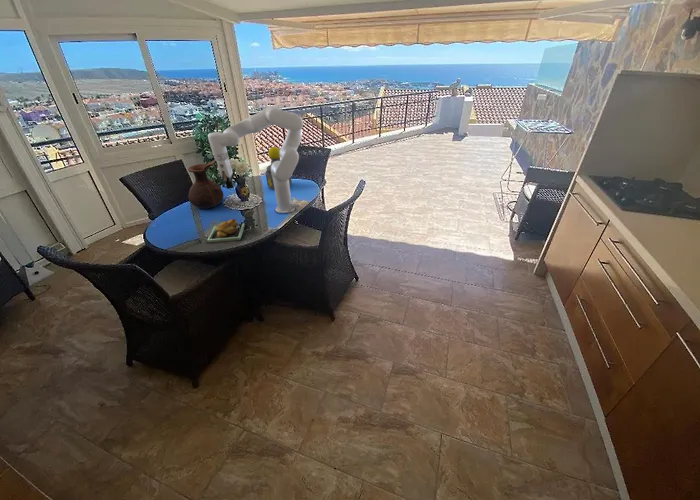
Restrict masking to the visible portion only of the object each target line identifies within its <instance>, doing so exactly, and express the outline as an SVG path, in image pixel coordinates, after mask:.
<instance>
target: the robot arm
mask: <svg viewBox="0 0 700 500" xmlns="http://www.w3.org/2000/svg"><path fill="white" fill-rule="evenodd" d="M270 126H275V127H276V126H277V127H279V128H282V129H286V130H287V132H286V133H287V134H286V135H285V139H284V140H283V143H282V145H281V146H280V148H279V149H280V151H279V155H280V160H281V161H275V162H273V163H272V165H271V164H270V165H271V174H272V178H273V183H274V188H275V190H274V194H275V200H276V207H275V212H276V213H278V214H289V213H292V212H294V211H295V210H296V208H299V207H300V204H299V203H298V202H294V201H293V199H292V195H291V186H290V185H289V178H290V177H291V178H292V175H293V173H294V171H295V170H296V167H297V166H298V163H299V159H300V155H299V153H298V148H299V147H300V143H301V141H302V137H303V129H302V128H303V127H304V120H303V117H301V116H300V115H299V114H296V113H295V112H293V111H286V110H284V109H280V108H278V107H276V106H274V105H270V106H266V107H265V108H264V109H262V110H260V111H258V112H256V113H255V114H253V115H251V116H248V117H247V118H245V119H243V120H240V121H238V122H236V123H234V124H232V125H231V126H229V127H227V128H225V129H224V130H223V131H222V132H220V131H214V132H210V133H207V139H208V142H209V145H210V146H209V147H210V149H211V152H212V155H213V158H214V161H215V162H216V164H217V168H218V172H219V175H220V177H221V179H223V180H224V183H225V186H226V189H233V188H234V184H233V180H232V176H233V173H234V172H233V168H232V165H231V162H230V156H229V152H228V150H227V149H228V148H227V147H236V146H237V145H238V144H239V142H240V139H241V138H243V137H244V136H247V135H250V134H257V133H260V132H261V131H264V130H265V129H267V128H268V127H270Z"/></svg>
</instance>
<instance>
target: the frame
mask: <svg viewBox="0 0 700 500" xmlns="http://www.w3.org/2000/svg"><path fill="white" fill-rule="evenodd" d="M217 226H218V225H213V227H212V229H211V231H210V233H209V235H208V238H207V239H206V243H207V244H209V243H220V242H231V241H240V240H241V238H242V236H243V233H244V229H245V227H246V224H245V222H243V223H242V224H241V227H240V230H239V232H238V236H232V237H231V236H230V237H225V238H219V237H218V238H213V237H214V235H215V233H216V232H217V230H216V228H217Z"/></svg>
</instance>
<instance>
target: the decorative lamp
mask: <svg viewBox="0 0 700 500" xmlns="http://www.w3.org/2000/svg"><path fill="white" fill-rule="evenodd" d="M280 149H281V148H279V147H277V146H271V147H270V148H269V150H268V157H269V158H270V164H269V165H267V166H266V171H265V179H266V185H267V187H268V188H269V189H270V190H272V191H275V188H274V183H273V178H272V174H271V165H272V163H273V162H275V161H281V157H280V155H279V151H280ZM289 185H290V187H292V176H291V177H290V178H289Z"/></svg>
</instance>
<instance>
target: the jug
mask: <svg viewBox="0 0 700 500" xmlns="http://www.w3.org/2000/svg"><path fill="white" fill-rule="evenodd" d="M215 163H216V161H215V160H212V161H210V162H208V163H207V164H206V163H197V164H194V165H190V166H189V167H188V168H187V171H188V172H189V173H193V175H194V179H195V180H194V182H193V183H192V185H191V186H190V188H189V191H188V196H187V199H188V201H189V202H190V204H191V205H192V206H194V207H197V208H198V209H203V210H206V209H207V210H209V209H212V208H214V207H217V206H218V205H219V204H220V203H221V202H222V201H223V200H224V195H225V194H224V191H223V190H222V188H221V187H222V186H221V185H219V184H217V183H216V182H215V181H213V180H211V179H209V178H208V175H207V172H208V171H209V170H210V169H211V167H214V164H215Z"/></svg>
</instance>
